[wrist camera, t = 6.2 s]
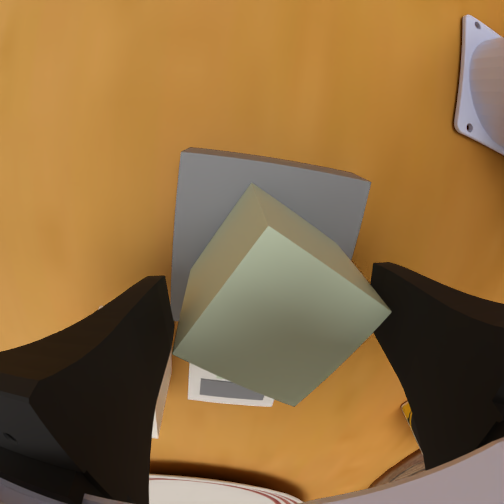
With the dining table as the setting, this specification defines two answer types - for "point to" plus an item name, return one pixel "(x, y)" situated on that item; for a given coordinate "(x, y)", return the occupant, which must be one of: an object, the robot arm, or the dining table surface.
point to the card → (221, 390)
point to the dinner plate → (210, 492)
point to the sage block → (274, 302)
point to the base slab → (269, 180)
